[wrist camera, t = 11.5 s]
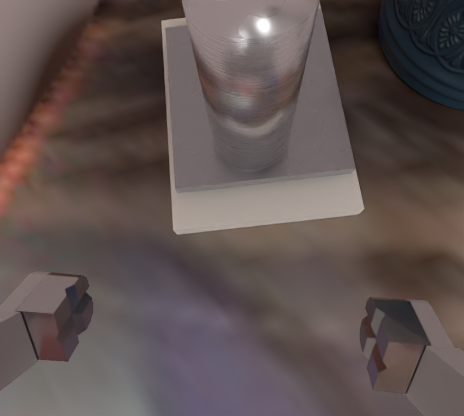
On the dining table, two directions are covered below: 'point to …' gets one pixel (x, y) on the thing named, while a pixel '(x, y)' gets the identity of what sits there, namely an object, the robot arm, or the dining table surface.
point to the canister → (426, 46)
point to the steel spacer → (250, 72)
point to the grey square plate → (302, 134)
